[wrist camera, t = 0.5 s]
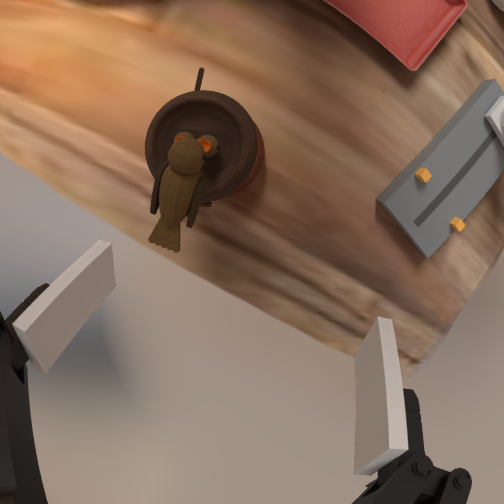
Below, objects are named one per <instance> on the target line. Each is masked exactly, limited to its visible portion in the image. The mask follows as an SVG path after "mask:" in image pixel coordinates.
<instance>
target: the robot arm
mask: <svg viewBox="0 0 504 504" xmlns="http://www.w3.org/2000/svg"><path fill="white" fill-rule="evenodd" d="M115 286H116V284H115V276H114V265H113V254H112V243H109V242H106V241H103V240H99V241H97V242H96V243H95V244H94V245H93V246H92V247H91V248H90V249H88V250H87V251H86V252H85V253H84V254H83V255H82V256H81V257H80V258H78V259H77V260H76V261H75V262H74V263H73V264H72V265H71V266H70V267H69V268H68V269H67V270H65V272H63V273H62V274H61V275H60V276H59V277H58V278H57V279H56V280H55V281H54V282H53V283H52V284H51V285H49V284H47V283H45V284H43V285H42V286H40V287H38V288H36V289H35V290H34V291H33V292H32V293H31V294H30V296H28V297H27V298H26V299H25V300H24V302H22V303H21V304H20V305H19V306H18V307H17V308H16V309H15V310H14V311H13V312H12V314H10V316H9V317H8V318H7V319H6V320H5V321H4V319H3V316H2V314H1V312H0V504H48V502H47V499H46V495H45V491H44V487H43V483H42V479H41V474H40V470H39V465H38V460H37V455H36V449H35V443H34V437H33V430H32V423H31V414H30V405H29V392H28V376H27V366H26V362H27V361H28V359H30V362H31V364H32V365H33V367H34V368H36V369H37V370H39V371H41V372H42V373H44V374H46V373H47V371H48V370H49V368H50V367H51V366H52V364H53V363H54V362H55V361H56V359H57V358H58V357H59V355H60V354H61V353H62V352H63V350H64V349H65V347H66V346H67V345H68V344H69V342H70V341H71V340H72V339H73V337H74V336H75V335H76V334H77V332H78V331H79V330H80V329H81V327H82V326H83V325H84V323H85V322H86V321H87V320H88V319H89V317H90V316H91V315H92V314H93V313H94V311H95V310H96V309H97V308H98V307H99V305H100V304H101V303H102V302H103V300H104V299H105V298H106V297H107V296H108V295H109V293H110V292H111V291H112V290H113V289H114V287H115ZM355 369H356V428H355V456H354V474H355V475H370V476H371V475H372V474H374V473H375V472H377V471H378V478H377V479H376V480H374V481H372V482H371V483H369V484H368V485H366V487H368V488H367V489H366V490H365V491H364V492H363V493H362V494H361V495H360V496H359V497H358V498H357V499H356V500H355V501H354V502H353V503H352V504H466V502H467V499H468V496H469V493H470V490H471V485H472V480H471V476H470V474H469V472H468V471H467V470H465V469H463V468H457V469H454V470H453V471H451V472H448V471H445V470H443V469H440V468H437V467H435V466H433V463H432V461H431V460H430V458H429V457H428V456H426V455H425V451H424V442H423V432H422V423H421V416H420V413H419V412H420V407H419V401H418V398H417V396H416V394H415V392H414V390H411V389H404V388H403V386H402V379H401V371H400V364H399V358H398V352H397V346H396V340H395V334H394V329H393V323H392V320H391V319H387V318H383V317H379V316H377V318H376V320H375V322H374V323H373V325H372V327H371V329H370V330H369V332H368V334H367V335H366V337H365V339H364V340H363V342H362V344H361V345H360V347H359V349H358V350H357V352H356V354H355Z"/></svg>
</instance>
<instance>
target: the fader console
mask: <svg viewBox="0 0 504 504" xmlns="http://www.w3.org/2000/svg"><path fill="white" fill-rule="evenodd" d="M500 96H504V92H503V90H502V89H501V87H500V86H499V84H498V83H497V81H496V80H495V79H492V80H487V81H483V82H482V83H481V84H480V86H479V87H478V88H477V89H476V90H475V92H474V93H473V94H472V95H471V96H470V97H469V99H468V100H467V101H466V102H465V103H464V104H463V106H462V107H461V108H460V109H459V110H458V111H457V112H456V114H455V115H454V116H453V117H452V118H451V119H450V120H449V121H448V123H447V124H446V125H445V126H444V127H443V128H442V129H441V130H440V131H439V133H438V134H437V135H436V136H435V137H434V138H433V139H432V140H431V141H430V142H429V144H428V145H427V146H426V147H425V148H424V149H423V150H422V151H421V152H420V153H419V154H418V155H417V157H416V158H415V159H414V160H413V161H412V162H411V163H410V164H409V165H408V166H407V167H406V168H405V169H404V170H403V171H402V173H401V174H400V175H399V176H398V177H397V178H396V179H395V180H394V181H393V182H392V183H391V184H390V185H389V186H388V187H387V188H386V189H385V190H384V191H383V192H382V193H381V194H380V195H379V196H378V197H377V198H376V200H377V201H378V202H379V203H380V204H381V206H382V207H383V208H384V209H385V210H386V211H387V213H388V214H389V215H390V216H391V217H392V219H393V220H394V221H395V222H396V223H397V225H398V226H399V227H400V228H401V229H402V231H403V232H404V233H405V234H406V236H407V237H408V238H409V239H410V241H411V242H412V243H413V245H414V246H415V247H416V248H417V250H418V251H419V252H420V253H422V254H423V255H424V256H425V257H427V258H429V257H430V256H431V255H432V254H433V253H434V252H435V251H436V250H437V249H438V248H439V247H440V246H441V245H442V243H443V242H444V241H445V240H446V239H447V238H448V237H449V236H450V235H451V234H452V233H453V231H454V230H457V231H458V232H460V231H461V230H462V229H463V228H464V227H465V224H464V223H463V220H464V219H465V218H466V217H467V216H468V214H469V213H470V212H471V211H472V210H473V208H474V207H475V206H476V205H477V204H478V202H479V201H480V200H481V199H482V198H483V196H484V195H485V194H486V193H487V191H488V190H489V189H490V188H491V186H492V185H493V184H494V183H495V181H496V180H497V179H498V177H499V176H500V175H501V173H502V172H503V171H504V147H503V145H502V143H501V141H500V140H499V138H498V136H497V135H496V133H495V131H494V130H493V128H492V126H491V125H490V123H489V121H488V120H487V118H486V117H485V115H486V114H487V113H488V111H489V110H490V109H491V108H492V106H493V105H494V104H495V102H496V101H497V100H498V99H499V97H500Z"/></svg>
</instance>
